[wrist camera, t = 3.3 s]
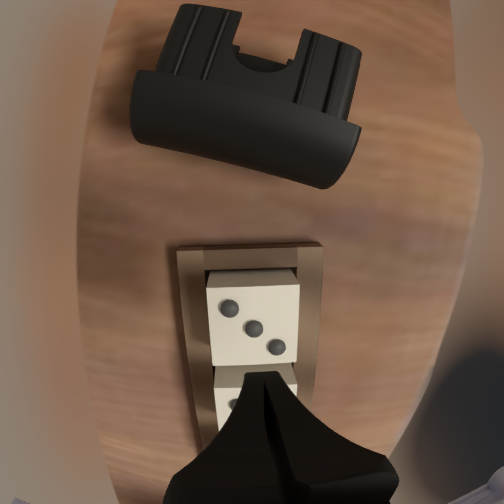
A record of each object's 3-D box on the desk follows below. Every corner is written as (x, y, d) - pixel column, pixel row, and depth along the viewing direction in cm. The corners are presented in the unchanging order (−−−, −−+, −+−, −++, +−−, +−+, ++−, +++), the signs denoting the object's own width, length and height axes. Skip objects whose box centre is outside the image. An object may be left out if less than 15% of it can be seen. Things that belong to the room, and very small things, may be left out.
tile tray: (301, 455, 25) (303, 464, 24) (207, 460, 25) (207, 469, 23) (318, 242, 20) (323, 246, 19) (179, 246, 20) (176, 251, 19)
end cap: (153, 147, 18) (114, 136, 12) (185, 45, 17) (165, -5, 10) (309, 187, 19) (346, 195, 13) (336, 85, 18) (380, 51, 11)
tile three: (288, 338, 21) (297, 363, 18) (215, 341, 21) (212, 367, 18) (290, 268, 20) (300, 285, 17) (210, 271, 20) (206, 289, 17)
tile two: (286, 410, 22) (293, 439, 19) (221, 413, 22) (220, 443, 19) (289, 357, 21) (297, 386, 18) (215, 361, 20) (213, 390, 17)
